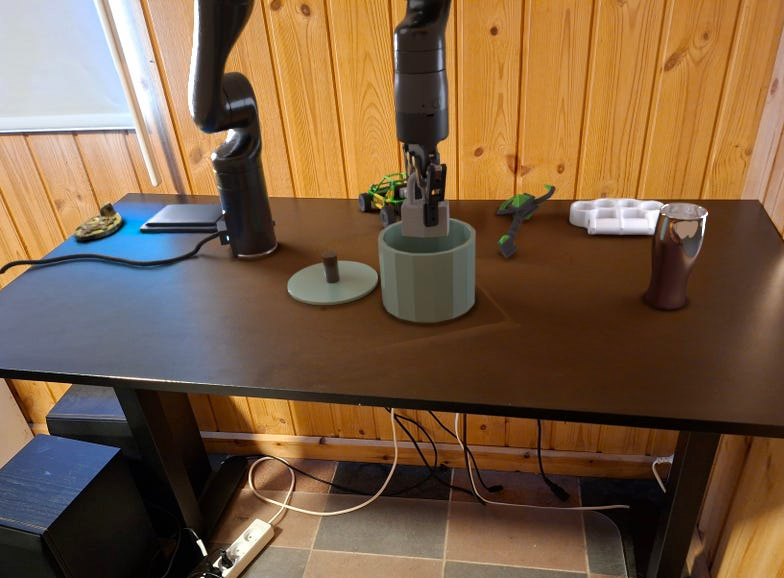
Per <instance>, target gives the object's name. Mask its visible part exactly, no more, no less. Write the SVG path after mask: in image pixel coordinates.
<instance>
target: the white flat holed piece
mask: <svg viewBox="0 0 784 578" xmlns="http://www.w3.org/2000/svg"><path fill="white" fill-rule="evenodd" d="M663 205H665V204H664V203H663V202H661V201H658V200H653V199H651V200H641V199H637V198H636V199H635V198H630V197H621V198H609V197H602V198H596V199H593V200H577V201H574V202H572V203H571V204H570V208H569V209H570V211H569V223H570V224H571V225H573V226H575V227H582V228H585V229H587V233H588V235H590V236H594V235H616V236H617V235H618V236H622V235H623V236H624V235H626V236H627V235H628V236H629V235H632V236H633V235H634V236H637V235H638V236H645V235H646V236H653V233H654V228H655V224H656V220H657V217H658V213H659V208H660V207H661V206H663Z"/></svg>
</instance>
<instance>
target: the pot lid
mask: <svg viewBox="0 0 784 578" xmlns="http://www.w3.org/2000/svg"><path fill="white" fill-rule="evenodd" d="M321 258H322V262H320V263H315V264H312V265H309V266H307V267H304V268H302V269H300V270H298V271H296V272H295V273H294V274H293V275H292V276H291V277H290V278H289V279H288V281H287V292H288V294H289V295H290V297H292V298H293V299H294V300H296V301H298V302H300V303H303V304H307V305H313V306H337V305H342V304H347V303H351V302H354V301H357V300H360V299H362V298H364V297H366V296H368V295H369V294H371V292H373V291H374V290H375V289H376V287H377V286H378V283H379V275H378V273H377V271H376V270H375V269H374V268H373V267H372V266H370V265H369V264H366V263H362V262H359V261H354V260H353V261H352V260H339V259H338V254H337V252H336V251H325V252H324V253H322V254H321Z"/></svg>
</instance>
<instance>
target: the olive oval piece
mask: <svg viewBox="0 0 784 578" xmlns="http://www.w3.org/2000/svg"><path fill="white" fill-rule="evenodd" d="M123 223H124V219H123V217H122V216H121V214H119V213H118V212H117V211H116V210H115V208H114V206H113V204H112V203H111V202H110V201H107V202H104V203H102V205H100V207H99V214H98V215H96V216H93V217H90V218H89V219H87V220H85V222H83V223H81V224H80V225H78V226H76V228H75V230H74V236H75V239H76V240H78V241H85V240H92V239H95V240H97V239H101V238H104V237H107V236H109V235H111V234H113V233H115V232H117V231H118V230H119V229H120V228H121V226H122V224H123Z"/></svg>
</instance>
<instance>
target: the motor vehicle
mask: <svg viewBox="0 0 784 578" xmlns="http://www.w3.org/2000/svg"><path fill="white" fill-rule="evenodd" d="M394 176H395V177H396V176H400V178H399V179H393V178H391V177H394ZM385 180H388V181H386V182H384V181H385ZM387 184H388V185H387ZM369 185H370V186H369V189H368V190H367V192H362V193H361V192H360V193H359V194H358V204H359V208H360V210H361V211H362V212H369V211H371V210H372V203H373V204H374V205H375V206H376V207H377V208H378V209H380V212H379V217H380V218H379V219H380V222H381V224H382V226H383V228H384V229H385V228H386V227H388V226H389V225H391V224H394V223H397V218H396V217H397V216H402V215H401V206H402V204H403V201H404V200H408V196H407V181H406V173H405V172H394V173H390V174H386V175H385V176H384V177H383V178H382V179H381V180H380V181H379V183H376V184H375V183H371V184H369ZM381 185H385V186H381Z"/></svg>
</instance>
